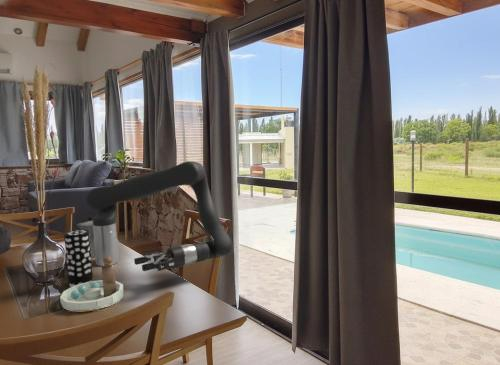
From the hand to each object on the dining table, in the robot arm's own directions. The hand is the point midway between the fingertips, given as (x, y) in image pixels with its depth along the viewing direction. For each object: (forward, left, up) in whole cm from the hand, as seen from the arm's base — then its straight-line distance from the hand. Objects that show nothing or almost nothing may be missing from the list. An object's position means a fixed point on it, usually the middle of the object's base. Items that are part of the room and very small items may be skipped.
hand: (138, 264), depth 136 cm
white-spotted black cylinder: (0, -25, -10) cm, 27 cm away
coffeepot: (-34, -45, -10) cm, 57 cm away
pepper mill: (+8, -7, -8) cm, 13 cm away
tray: (+10, -12, -10) cm, 18 cm away
